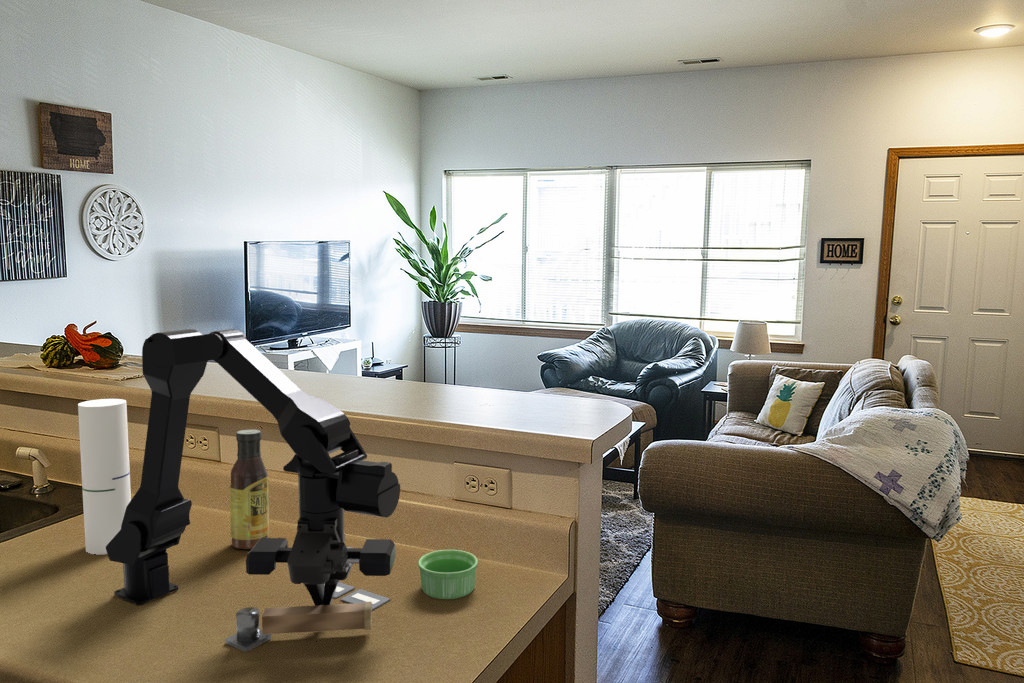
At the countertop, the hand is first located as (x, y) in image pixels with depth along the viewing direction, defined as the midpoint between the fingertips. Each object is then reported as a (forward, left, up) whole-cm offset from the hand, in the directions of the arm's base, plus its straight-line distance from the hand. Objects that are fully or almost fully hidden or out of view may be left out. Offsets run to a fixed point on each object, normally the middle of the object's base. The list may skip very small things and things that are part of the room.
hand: (324, 616), depth 101 cm
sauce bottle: (-32, +14, -2) cm, 35 cm away
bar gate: (+1, -2, 0) cm, 3 cm away
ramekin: (+7, +19, -2) cm, 20 cm away
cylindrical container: (-51, 0, -2) cm, 51 cm away
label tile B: (-1, +9, -2) cm, 9 cm away
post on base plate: (-5, -8, -2) cm, 10 cm away
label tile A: (-8, +9, -2) cm, 12 cm away
